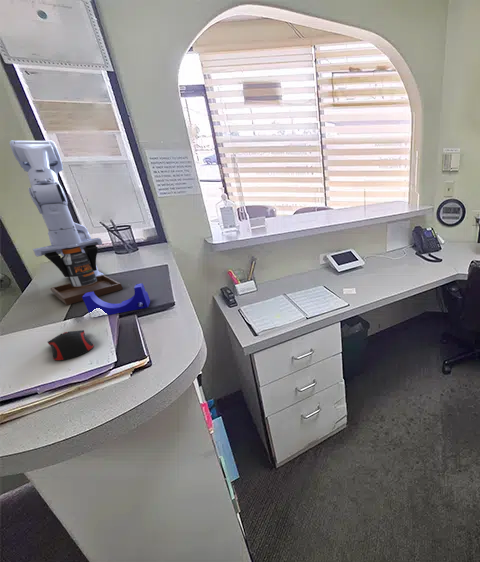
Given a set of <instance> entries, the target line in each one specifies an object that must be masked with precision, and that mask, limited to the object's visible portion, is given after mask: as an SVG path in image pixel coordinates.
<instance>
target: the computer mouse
mask: <svg viewBox="0 0 480 562" xmlns="http://www.w3.org/2000/svg"><path fill="white" fill-rule="evenodd" d="M47 344H48V345H49V346H50V347H51V349H52V359H53V360H54V361H57V362H60V361H66V360H70V359H73V358H77V357H79V356H81V355H84V354H86V353H88V352H90V351H91V350H92V349H93V348H94V346H95V345H94V343H93V342H92V341H91V340H90V339H89V338H87V336H86V333H85V330H84V329H81V330H69V331H64V332H62V333H60V334H57V336H55V337H53V338H52V339H49V340H48V341H47Z"/></svg>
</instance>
